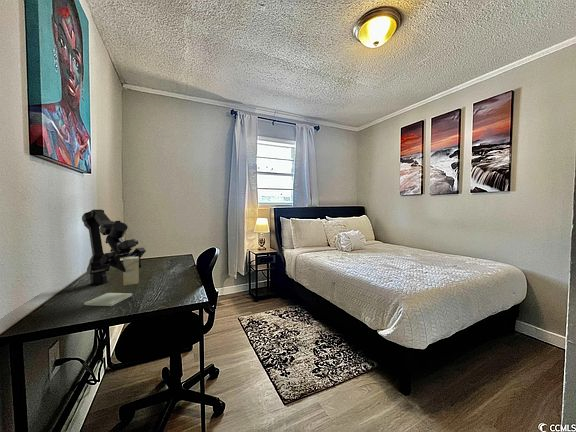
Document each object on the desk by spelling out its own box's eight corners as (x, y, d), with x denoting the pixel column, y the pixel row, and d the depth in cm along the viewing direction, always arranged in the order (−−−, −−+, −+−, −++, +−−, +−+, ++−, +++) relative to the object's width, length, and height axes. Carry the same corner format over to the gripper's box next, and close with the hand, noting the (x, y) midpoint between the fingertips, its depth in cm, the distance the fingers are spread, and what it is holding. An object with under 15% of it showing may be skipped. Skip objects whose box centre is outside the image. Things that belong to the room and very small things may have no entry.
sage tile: (84, 305, 100) (84, 302, 100) (107, 294, 112) (107, 292, 112) (111, 305, 99) (111, 303, 99) (132, 295, 111) (132, 293, 111)
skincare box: (123, 285, 109) (122, 259, 108) (123, 282, 112) (122, 257, 112) (139, 283, 112) (138, 257, 112) (138, 280, 116) (138, 256, 115)
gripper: (104, 235, 104) (121, 263, 100) (143, 231, 121) (159, 255, 118) (92, 251, 107) (108, 278, 104) (132, 245, 124) (147, 268, 121)
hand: (133, 269), depth 111 cm, fingers closed on skincare box, 7 cm apart
